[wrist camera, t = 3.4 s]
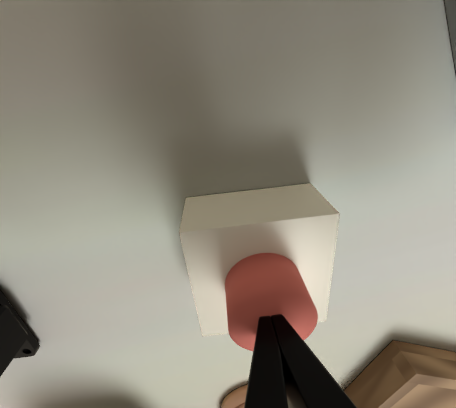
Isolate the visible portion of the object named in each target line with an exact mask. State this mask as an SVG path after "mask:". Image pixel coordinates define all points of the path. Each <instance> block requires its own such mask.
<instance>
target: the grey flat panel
mask: <svg viewBox="0 0 456 408" xmlns="http://www.w3.org/2000/svg"><path fill="white" fill-rule="evenodd" d="M444 1H445V8H446V14H447V20H448V26H449V33H450V39H451V45H452V52H453V58H454V64H455V70H456V0H444Z"/></svg>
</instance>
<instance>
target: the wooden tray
mask: <svg viewBox="0 0 456 408" xmlns="http://www.w3.org/2000/svg"><path fill="white" fill-rule="evenodd" d="M344 392H345V393H346V394H347V396H348V397H349V398H350V399H351V401H352V402H353V403H354V404H355V406H356V407H357V408H456V352H452V351H447V350H441V349H436V348H431V347H426V346H421V345H415V344H410V343H405V342H400V341H395V340H393V341H392V342H391V343H390V344H389V345H388V346H387V347H386V348H385V349H384V350H383V351H382V352H381V353H380V354H379V355H378V356H377V357H376V358H375V359H374V360H373V361H372V362H371V363H370V364H369V365H368V366H367V367H366V368H365V369H364V370H363V371H362V373H361V374H360V375H359V376H358V377H357V378H356V379H355V380H354V381H353V382H352V383H351V384H350V385H349V386H348V387H347V388H346V389H345V390H344Z"/></svg>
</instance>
